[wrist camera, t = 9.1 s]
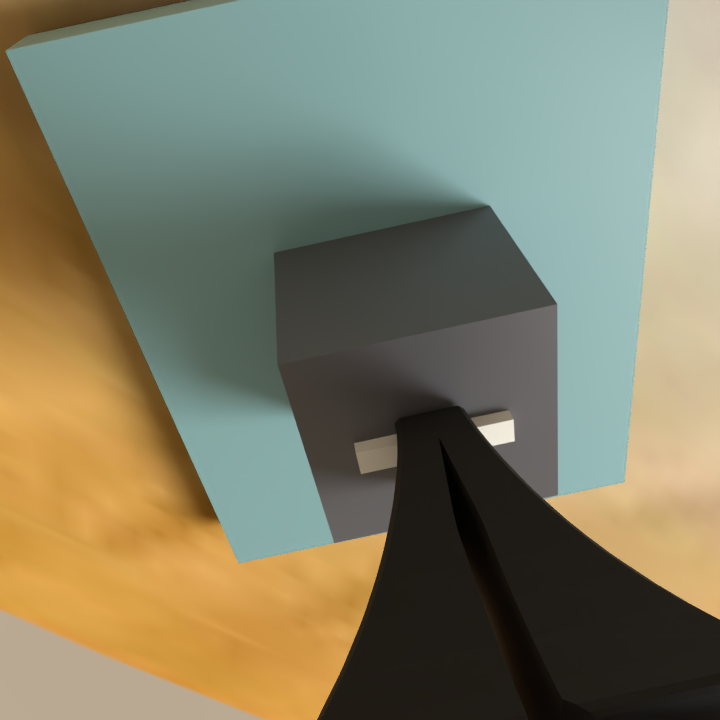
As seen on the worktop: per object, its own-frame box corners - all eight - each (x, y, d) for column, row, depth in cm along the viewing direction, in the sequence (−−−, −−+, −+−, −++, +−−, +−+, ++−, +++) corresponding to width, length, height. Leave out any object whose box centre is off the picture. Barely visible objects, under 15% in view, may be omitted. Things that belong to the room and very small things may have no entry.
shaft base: (641, -98, 14) (774, -87, 10) (605, 450, 23) (669, 556, 20) (27, 35, 14) (-55, 91, 10) (239, 527, 24) (235, 647, 20)
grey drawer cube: (489, 205, 16) (563, 312, 12) (501, 376, 19) (562, 505, 15) (273, 252, 16) (277, 374, 12) (320, 415, 19) (335, 553, 15)
